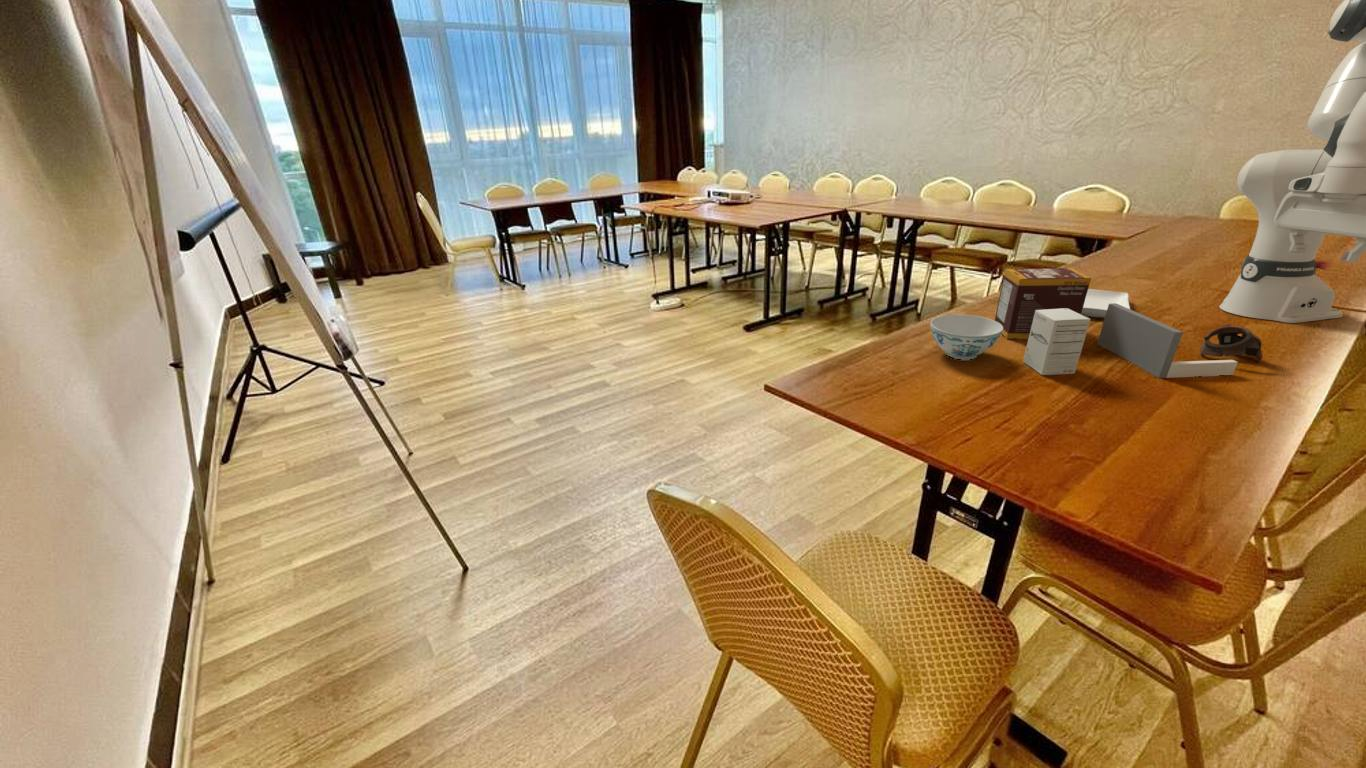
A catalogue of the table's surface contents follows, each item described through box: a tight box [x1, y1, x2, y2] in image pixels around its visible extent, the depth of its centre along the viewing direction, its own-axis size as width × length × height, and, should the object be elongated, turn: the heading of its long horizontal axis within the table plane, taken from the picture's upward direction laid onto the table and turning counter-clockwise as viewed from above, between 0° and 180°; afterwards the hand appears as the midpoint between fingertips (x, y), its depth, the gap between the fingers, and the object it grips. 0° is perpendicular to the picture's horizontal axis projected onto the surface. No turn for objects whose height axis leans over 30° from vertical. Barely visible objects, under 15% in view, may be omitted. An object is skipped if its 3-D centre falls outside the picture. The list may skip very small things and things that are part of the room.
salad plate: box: [1081, 288, 1131, 319], centre depth 147 cm, size 21×21×3 cm
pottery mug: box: [1199, 323, 1264, 364], centre depth 113 cm, size 12×10×8 cm
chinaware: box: [930, 314, 1003, 361], centre depth 122 cm, size 15×15×8 cm
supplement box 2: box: [1022, 308, 1092, 376], centre depth 112 cm, size 7×7×13 cm
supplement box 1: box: [994, 267, 1092, 340], centre depth 130 cm, size 10×15×16 cm
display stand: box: [1096, 303, 1238, 379], centre depth 113 cm, size 14×19×10 cm
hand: (1321, 256), depth 103 cm, fingers open, 8 cm apart
